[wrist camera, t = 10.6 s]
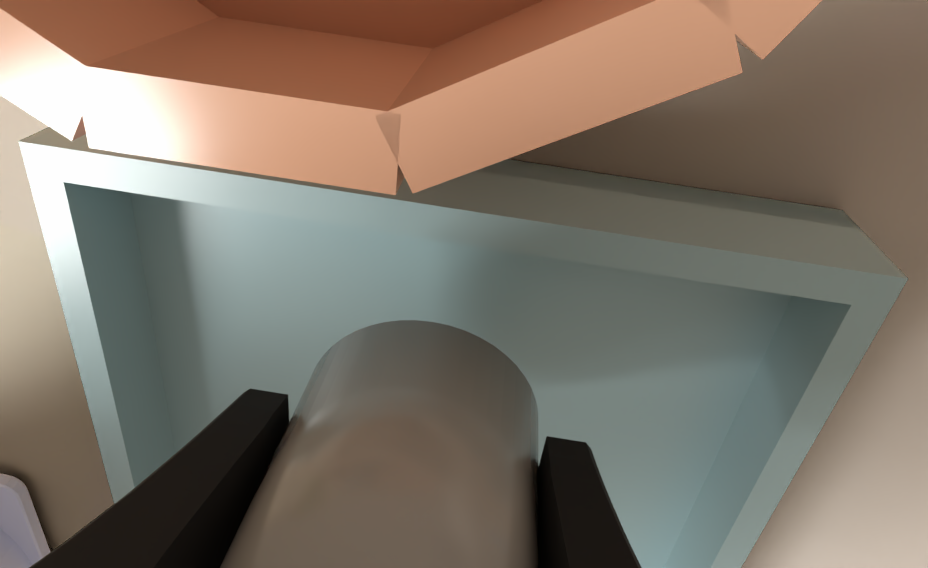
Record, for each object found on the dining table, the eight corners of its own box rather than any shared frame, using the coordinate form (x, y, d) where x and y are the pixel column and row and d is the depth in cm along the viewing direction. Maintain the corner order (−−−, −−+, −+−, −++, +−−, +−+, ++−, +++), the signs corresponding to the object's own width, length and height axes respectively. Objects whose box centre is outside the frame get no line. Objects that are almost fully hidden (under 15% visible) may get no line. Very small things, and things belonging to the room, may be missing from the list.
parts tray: (190, 550, 20) (147, 629, 17) (109, 98, 12) (18, 141, 10) (641, 627, 19) (653, 718, 17) (842, 209, 12) (908, 278, 10)
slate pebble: (309, 476, 12) (183, 791, 8) (307, 301, 10) (133, 603, 6) (517, 510, 12) (506, 849, 8) (559, 341, 10) (576, 679, 6)
